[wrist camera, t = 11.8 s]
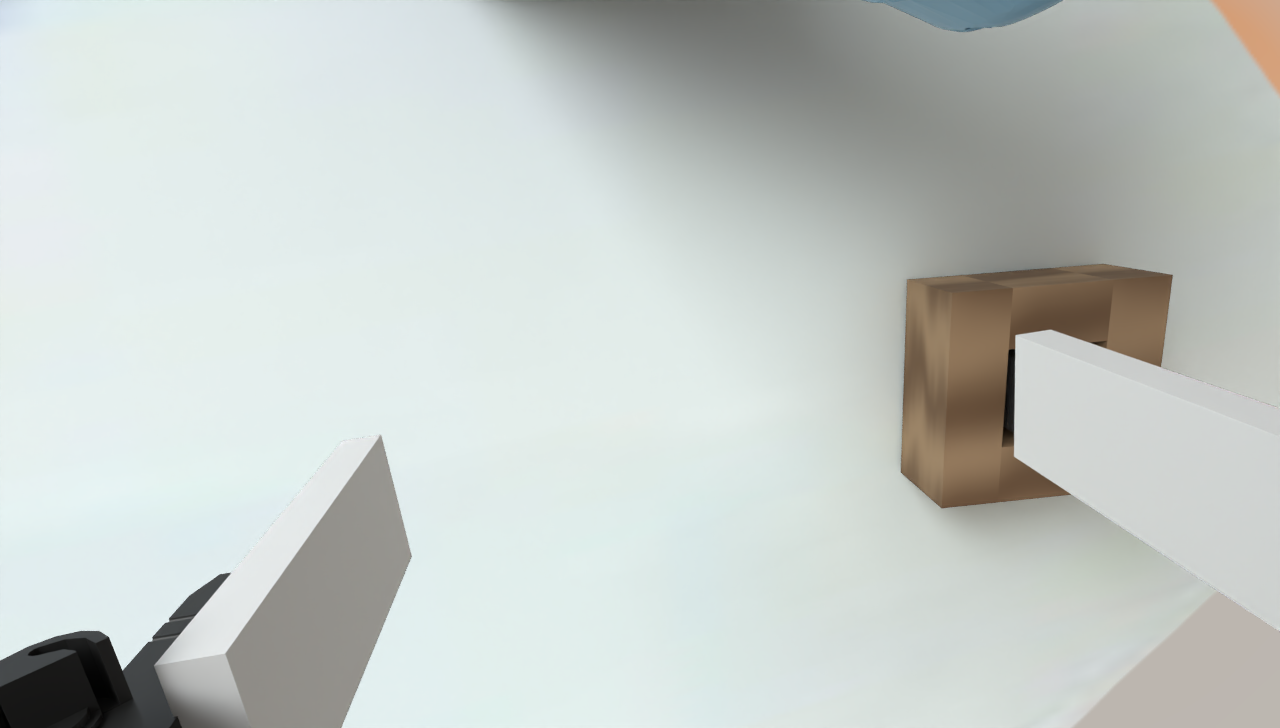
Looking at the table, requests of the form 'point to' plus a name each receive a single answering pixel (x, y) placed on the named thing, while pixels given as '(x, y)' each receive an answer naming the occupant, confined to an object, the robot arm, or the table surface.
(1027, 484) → the brown square hole block
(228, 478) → the table surface
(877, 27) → the table surface
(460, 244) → the table surface
